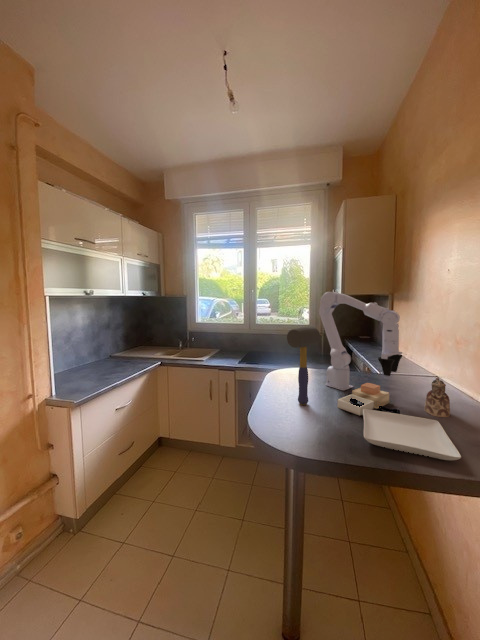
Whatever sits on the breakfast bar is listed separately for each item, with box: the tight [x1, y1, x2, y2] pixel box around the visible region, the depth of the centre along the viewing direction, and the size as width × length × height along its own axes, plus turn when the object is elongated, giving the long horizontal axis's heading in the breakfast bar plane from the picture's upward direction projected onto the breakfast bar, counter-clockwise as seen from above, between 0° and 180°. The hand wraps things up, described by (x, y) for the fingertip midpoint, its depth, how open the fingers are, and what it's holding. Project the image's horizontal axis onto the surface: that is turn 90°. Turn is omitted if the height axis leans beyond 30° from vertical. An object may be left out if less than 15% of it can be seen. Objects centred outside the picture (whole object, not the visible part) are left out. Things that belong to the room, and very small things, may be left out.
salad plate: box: [362, 409, 462, 461], centre depth 74 cm, size 21×21×3 cm
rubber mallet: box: [286, 326, 321, 406], centre depth 98 cm, size 12×8×30 cm, turn 128°
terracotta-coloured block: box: [360, 382, 381, 395], centre depth 100 cm, size 5×5×2 cm
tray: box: [336, 393, 374, 417], centre depth 95 cm, size 9×9×3 cm
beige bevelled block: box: [351, 386, 390, 409], centre depth 101 cm, size 10×9×4 cm
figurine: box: [423, 377, 451, 418], centre depth 90 cm, size 7×7×12 cm
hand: (390, 373), depth 105 cm, fingers open, 7 cm apart
